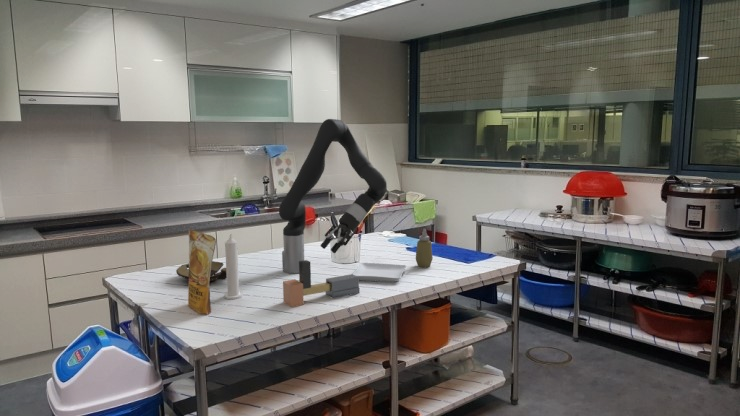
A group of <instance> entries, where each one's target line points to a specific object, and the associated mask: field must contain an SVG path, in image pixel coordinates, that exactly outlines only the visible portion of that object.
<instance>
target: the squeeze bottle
mask: <svg viewBox="0 0 740 416" xmlns="http://www.w3.org/2000/svg"><path fill="white" fill-rule="evenodd" d="M432 246H433V245H432V241H431V240H430V236H429V235H428V233H427V229H426V228H423V229H422V232H421V235H419V240H418V241H417V242H416V250H415V251H416V252H415V261H416V264H417V266H418V267H420V268H430V267H431V264H432V262H433V248H432Z"/></svg>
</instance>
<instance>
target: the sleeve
mask: <svg viewBox="0 0 740 416" xmlns="http://www.w3.org/2000/svg"><path fill="white" fill-rule="evenodd" d="M326 282H330V283H331V291H326V292H325V295H326V296H328V297H330V298H332V299H336V298H337V299H338V298H342V297H347V296H351V295H357V294H360V292H361V291H360V280H359V277H358V276H355V275H353V273H351V274H346V275H339V276H334V277H328V278H325V283H326Z"/></svg>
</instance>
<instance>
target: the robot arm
mask: <svg viewBox="0 0 740 416" xmlns="http://www.w3.org/2000/svg"><path fill="white" fill-rule="evenodd" d="M334 142H336V143H339V145H341V146H342V147H343V148H344V150H345V151H346V155H347V157H348V161H349V163H350V166H351V167H352V169H353V170H354V172H355V173H356V174H357V175H358V176H359V177H360V179H362V180H364V181H365V182H366V184H367V185H368V188H367V190H365V192H364V193H361V194H359V195H358V196H357V198H356V199H355V200H354V201H353V203H351V205H349V206H348V208H347V209H346V210H345V212H344V213H343V214H342V215H341V216H340V218H339V219H338V223H339V224H337V225H336V224H334V223H333V224H332V225H331V227H330V228H329V229H328V230H327V232H326V233H325V234H324V237H325V238H324V240H323V241H322V243H321V244H320V247H321V248H322V249H323V250H325V249H326V248H327V247H328V246H329V245H330V243H331V242H332V241H333V240H337V241H336V242H335V243H334V244H333V245H332V247H331V248H330V251H331V252H332V253H333V254H336V253H337V252H338V250H339V249H340V248H341V247H343V246H347V245H348V243H349V242H350V241H351V239H352V238H353V236H354V235H355V233H354V232H355V231H356V230H357V228H358V227H359V226H360V225H361V223H362V222H363V221H364V219H366V216H367V215H368V213H369V212H370V211H371V210H372V209H373V207H374V206H375V205H376V204H377V203H378V202H379V201H381V200H382V198H383V197H384V196H385V195H386V193H387V190H388V185H387V180H386V178H385V176H384V175H383V174H382V173H381V172H380V171H379V170H378V169H377V168H376V167H374V165H373V164H372V162H371V161H370V159H369V158H367V156H366V154H365V153H364V152H363V151H362V149H361V148H360V146H359V144H358V142H357V141H356V139H355V137H354V135H353V133H352V132H351V130H350V129H349V126H348V125H347V123H346V122H345V121H344V120H341V119H335V118H327V119H325V120H323V122H322V123H321V125H320V126H319V128H318V131H317V134H316V136H315V139H314V141H313V144H312V146H311V149H310V150H309V152H308V154H307V156H306V159H305V160H304V162H303V163H302V165H301V167H300V169H299V172H298V174H297V176H296V178H295V180H294V181H293V182H292V185H291V187H290V189H289V190H288V192H287V194H286V195H285V197H284V198H283V200H282V201H281V203H280V205H279V208H278V215H279V217H280V218H281V219H282V220H284V221H288V222H287V224H286V226H285V227H283V229H282V234H283V235H282V237H283V250H282V252H281V253H282V254H281V259H282V260H281V261H282V262H281V263H282V265H281V266H282V273H287V274H299V261H304V260H305V228H306V214H307V212H306V211H307V210H306V209H307V208H306V206H305V203H304V201H303V199H304V198H305V196H306V195H307V194H308V193H309V192H311V190H312V189H314V187H315V186H316V185H317V183H319V181H320V179H321V177H322V175H323V173H324V171H325V167H326V153H327V151H328V149H329V147H330V145H331V144H332V143H334Z"/></svg>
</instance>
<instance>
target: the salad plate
mask: <svg viewBox="0 0 740 416" xmlns="http://www.w3.org/2000/svg"><path fill="white" fill-rule="evenodd" d="M406 268H407V265H405V264H396V263H395V264H394V263H393V264H392V263H377V262H376V263H375V262H361V263H360V264H359V266H358V267H357V268H356V270H354V272H352V274H353V275H355V276H358V277H359V281H367V282H368V281H370V282H382V281H385V282H386V283H395V282H398V281H400V279H401V277H402V275H403V273H404V271H405V269H406ZM385 282H384V283H385Z"/></svg>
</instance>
